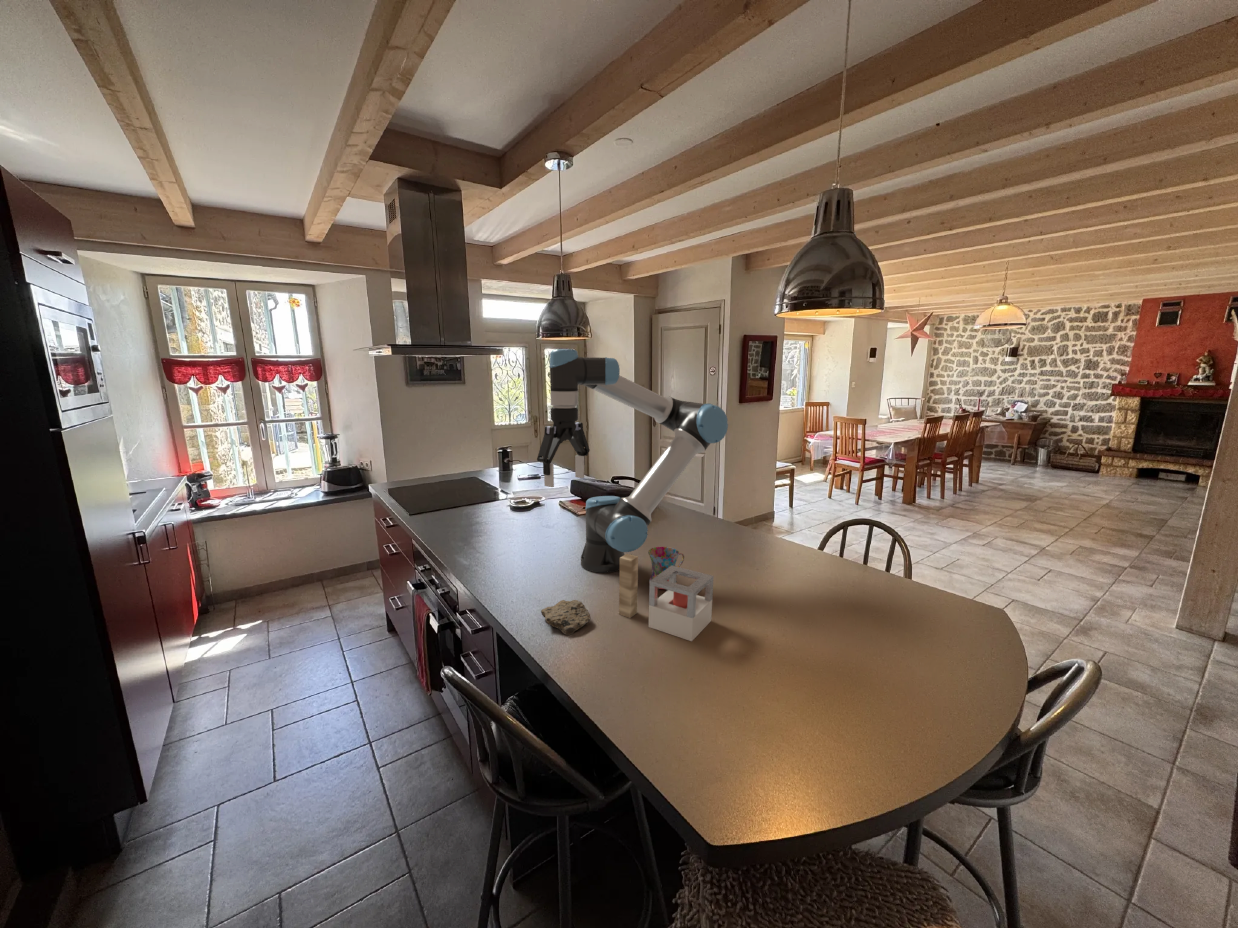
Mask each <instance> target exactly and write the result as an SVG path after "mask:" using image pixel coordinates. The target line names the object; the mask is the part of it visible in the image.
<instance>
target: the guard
mask: <svg viewBox="0 0 1238 928" xmlns="http://www.w3.org/2000/svg"><path fill="white" fill-rule="evenodd" d="M677 575H678V576H682V577H684V578H685V577H686V578H690V579H693V580H695V581H694V582H692V584H690V585H689V586H688V585H683V584H679V583H678V582H677V583H676V581H677ZM649 580H650V579H649ZM667 580H669V581H667ZM658 587H660V588H663V589H662V590H666V591H668V590H670V591H674V592H677V593H681V594H684V595H688V604H687V617H689V618H694V617H695V612H696V595H698V594H699V593H700V592H702V590H704V597H705V600H706V601H711V600H712V601H713V597H714V596H713V594H714V593H713V592H714V575H712V574H708V573H705V572H704V573H703V572H700V571H696V570H693V569H688V568H684V567H681V566H680V567H677V566H676V565H675V566H670V567H669V568H667V569H666V570H664V571H663V572H662V573H660V574H659V575H657V576H656V577H655V578H653V579H652V580H650V584H649V587H648V588H649V595H648V600H649V601H648V606H649V605H650V606H656V605H657V598H658V591H659V589H658ZM704 588H705V589H704Z"/></svg>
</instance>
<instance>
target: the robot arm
mask: <svg viewBox="0 0 1238 928" xmlns="http://www.w3.org/2000/svg"><path fill="white" fill-rule="evenodd" d="M578 353H579V352H578V351H577V350H576V349H566V348H564V349H563V348H561V349H560V348H559V349H557V348H555V349H552V350H551V351H550V353H549V354H550V355H549V366H548V368H549V383H550V385H549V387H550V406H552V407H551V408H550V421H552V425H551V426H550V425H545V426H544V432H543V433H544V434H543V438H542V441H541V444H540V448H539V450H538V454H537V458H536V461H537V462H539V463H542V470H543V471H542V472H543V476H544V477H543V478H544V479H543V481H544V487H548V488H554V487H555V476H554V473H555V472H554V469H555V468H554V462H552V461H553V460H554V458H555V455H556V453H557V452H558V449H559V447H560V445H561V444H562V443H564V442H566V441H569V443H570V445H571V446H572V447H573V449H574V451H575V453H576V455H575V456H574V463H575V464H574V466H575V467H574V470H575V471H574V473H575V475H574V476H575V478H579V479H584V478H585V465H586V461H585V459H586V457H587V456H588V455H589V453H590V451H591V450H590V447H589V444H588V440H587V437H586V435H585V432H584V423H583V422H581V421H580V422H579V421H578V420H579V408H578V407H577V406H579V389H578V387H579V386H584V387H586V388H589V389H591V390H593V391H596V392H598V393H599V394H602V395H604V396H607V397H609V398H611V399H613V400H615V401H618V402H619V403H621V404H624V405H626V406H628V407H630V408H632V409H634V410H637V411H638V412H640V413H643V414H644V415H647V416H649V417H651V418H653V419H654V421H655V422H656V423H657V424H659V425H661V426H663V427H666V428H667V429H669V430H670V431H672V432H674V433H673V434H674V437H673V439H672V440H671V441H670V443H669V444H668V445H667V447H666V448H665V449H664V451H663V452H662V453H661V454H660V456H659V457H658V458H657V460H656V461H655V462H654V464H653V465H652V466H651V467H650V469H649V470H648V471H647V472H646V474H645V475H644V477H643V478H642V479H641V480H640V481H639V483H638V484H637V485H636V486H635V488H634V489H633V490H632V492H631V493H630V495H629V496H626V497H620V496H615V495H602V496H601V495H600V496H599V495H598V496H593V497H590V498H588V499H587V500H586V501H585V509H584V510H585V543H584V544H585V545H584V547H583V550H582V552H581V555H580V566H581V567H582V568H583V569H585V570H586V571H589V572H593V573H603V574H604V573H613V572H618V571H620V557H622V556H624V555H625V553H631V552H634V551H636V550H638V549H639V548H641V547H642V546H643V545H644V544H645V542H646V540H647V539H648V535H649V534H648V532H649V529H648V526H649V525H650V524H651V522H652V513H653V512H654V511H655V509H656V508H657V506H658V505H659V504H660V502H661V501H663V498H664V497H665V496H666V495H667V494H668V492H669V491H670V489H671V488H672V487H673V486H674V484H675V483H676V482H677V481H678V479H679V478H680V476H681V475H682V473H683V472H684V471H685V470H686V468H687V467H688V466H689V464H690V463H691V462H692V460H693V459H694V458H695V457H696V455H697V454H700V453H705V451H706V450H707V449H708V448H709V446H710V445H711V444H716V443H720V442H721V441H722V440H723V439H724V438H725V437H726V434H727V432H728V428H729V424H728V421H729V420H728V416H727V414H726V413H725V411H724V409H722V407H720V406H718V405H716V404H713V403H701V402H696V401H695V402H694V401H686V400H685V401H684V400H681V399H677V398H674V397H672V396H669V395H666V396H663V395H661V394H658V393H656V391H655V392H654V391H652V390H650V389H648V388H647V387H645V386H643V385H640V384H639V383H636V382H634V381H632V380H630V379H627V378H625V377H623V376H622V375H620V364H619V362H618V360H617V359H616V358H615V357H614V358H613V357H595V356H594V357H582V356H579V354H578Z"/></svg>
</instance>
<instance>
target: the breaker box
mask: <svg viewBox="0 0 1238 928" xmlns="http://www.w3.org/2000/svg"><path fill="white" fill-rule="evenodd" d="M673 596H674V591H670V590H666V591H665V592H664V593H663V594H661V595H660V596H659V597H657V605H656V606H650V605H649V604H648V628H650V629H653V630H656V631H660V632H662V633H666V634H668V635H672V636H675V637H678V638H681V639H682V640H687V641H690V642H693V641H694V640H695V638H697V636H699V634H701V632H702V631H703V630H704V629H705V628H706V627H707V626H708V625H709V624H710V623H711V621H712V615H713V614H712V612H713V599H712V600H711V601H706V600H705V596H702V595H698V594H697V595H696V612H695V617H694V618H689V617H687V608H686V609H685V608H682V607H678V606H675V605H673Z"/></svg>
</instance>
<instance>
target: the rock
mask: <svg viewBox="0 0 1238 928" xmlns="http://www.w3.org/2000/svg"><path fill="white" fill-rule="evenodd" d="M540 614H541V615H542V617H543V618H544V620H545V622H546V623H547V624H548V625H550V626H552V627H553V628H556V629H558V630H560V631H561V632H562V634H564V635H566V636H570V635H572V634H574V633H575V632H576V631H577V630H579V629H581V628H582V627H584V626H585V625H586V623H589V622H590V620H591V614H590V612H589V610H588V609H587V607H586V605H585V604H583V602H582V601H579V600H577V599H572V600H566V599H563V600H560V601H557V603H556V604H554V605H552V606H547V607H545V608H543V609H541V610H540Z"/></svg>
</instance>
